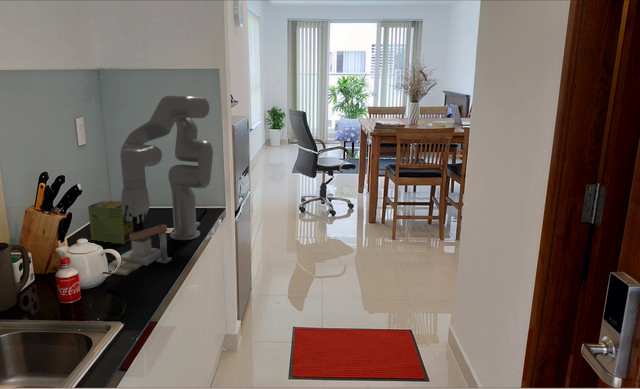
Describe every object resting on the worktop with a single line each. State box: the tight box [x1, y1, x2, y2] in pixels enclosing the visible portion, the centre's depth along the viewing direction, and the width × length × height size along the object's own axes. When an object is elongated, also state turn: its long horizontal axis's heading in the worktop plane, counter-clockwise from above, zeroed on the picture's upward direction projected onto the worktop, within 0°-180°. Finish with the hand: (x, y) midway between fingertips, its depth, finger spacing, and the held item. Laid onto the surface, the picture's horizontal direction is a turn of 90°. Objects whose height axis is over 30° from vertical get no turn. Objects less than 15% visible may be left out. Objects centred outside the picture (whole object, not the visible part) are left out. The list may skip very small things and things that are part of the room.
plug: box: [130, 235, 153, 257], centre depth 182 cm, size 5×5×11 cm
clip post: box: [155, 231, 173, 264], centre depth 179 cm, size 4×4×12 cm
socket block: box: [120, 247, 161, 266], centre depth 183 cm, size 12×12×2 cm
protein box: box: [88, 199, 136, 245], centre depth 201 cm, size 10×15×16 cm
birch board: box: [108, 259, 142, 276], centre depth 173 cm, size 9×11×1 cm
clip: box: [129, 224, 168, 241], centre depth 173 cm, size 3×15×2 cm, turn 144°
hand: (138, 232), depth 173 cm, fingers closed
